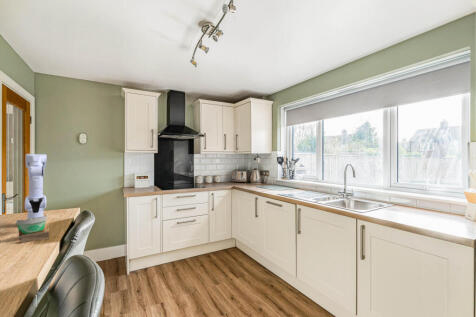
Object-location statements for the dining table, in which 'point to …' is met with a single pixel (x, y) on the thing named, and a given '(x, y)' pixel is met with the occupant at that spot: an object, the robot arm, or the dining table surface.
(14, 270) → the dining table surface
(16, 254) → the dining table surface
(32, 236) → the walnut bar
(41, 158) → the robot arm
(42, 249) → the dining table surface
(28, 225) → the food container
